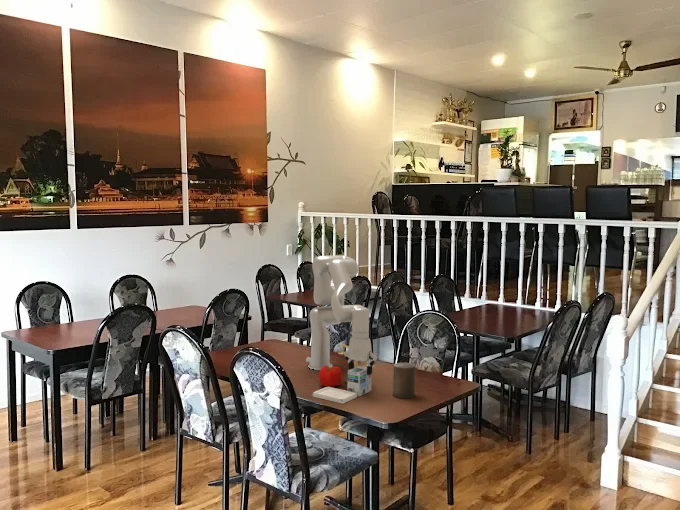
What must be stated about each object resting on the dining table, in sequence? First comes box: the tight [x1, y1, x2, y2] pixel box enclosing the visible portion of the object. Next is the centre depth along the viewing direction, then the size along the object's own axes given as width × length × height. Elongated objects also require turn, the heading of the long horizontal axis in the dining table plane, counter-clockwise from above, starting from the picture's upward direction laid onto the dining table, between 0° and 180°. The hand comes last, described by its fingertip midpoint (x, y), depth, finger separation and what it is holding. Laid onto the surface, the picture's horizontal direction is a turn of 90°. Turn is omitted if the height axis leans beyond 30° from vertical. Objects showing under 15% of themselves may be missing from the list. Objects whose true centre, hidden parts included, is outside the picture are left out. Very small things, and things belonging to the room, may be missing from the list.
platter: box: [312, 386, 358, 404], centre depth 260 cm, size 16×11×2 cm
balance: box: [337, 343, 376, 385], centre depth 280 cm, size 20×6×18 cm, turn 55°
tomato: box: [318, 365, 343, 388], centre depth 276 cm, size 11×12×9 cm
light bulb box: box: [347, 365, 373, 397], centre depth 267 cm, size 11×7×11 cm, turn 147°
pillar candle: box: [392, 361, 416, 399], centre depth 263 cm, size 10×10×15 cm
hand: (360, 373), depth 266 cm, fingers open, 9 cm apart
